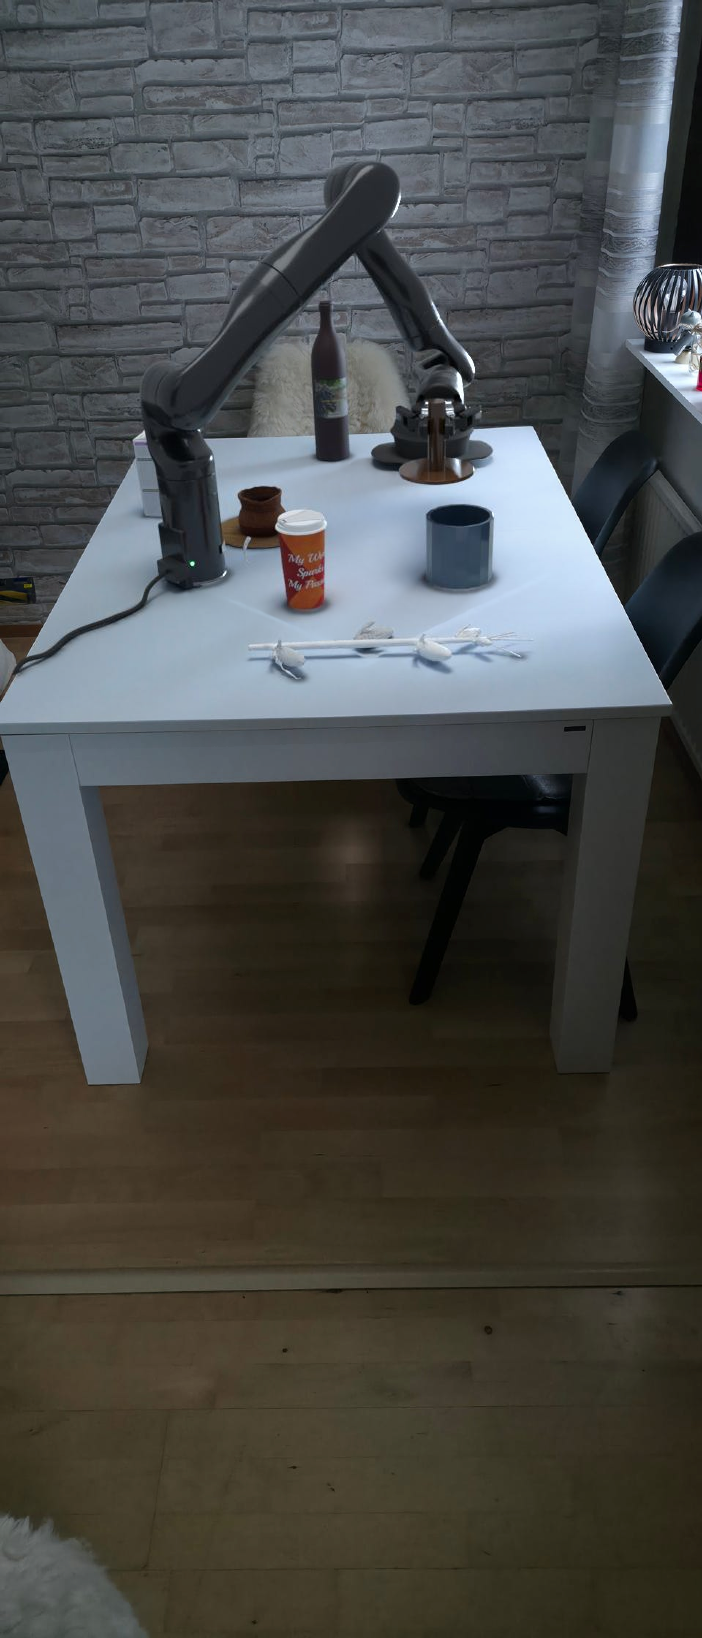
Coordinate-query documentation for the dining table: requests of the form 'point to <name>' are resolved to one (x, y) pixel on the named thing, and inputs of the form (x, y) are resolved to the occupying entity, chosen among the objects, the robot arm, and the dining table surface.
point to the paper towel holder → (436, 455)
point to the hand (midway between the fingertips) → (436, 432)
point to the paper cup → (303, 557)
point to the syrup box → (147, 477)
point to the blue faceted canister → (459, 546)
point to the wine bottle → (329, 390)
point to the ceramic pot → (255, 518)
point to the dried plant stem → (377, 642)
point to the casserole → (416, 447)
